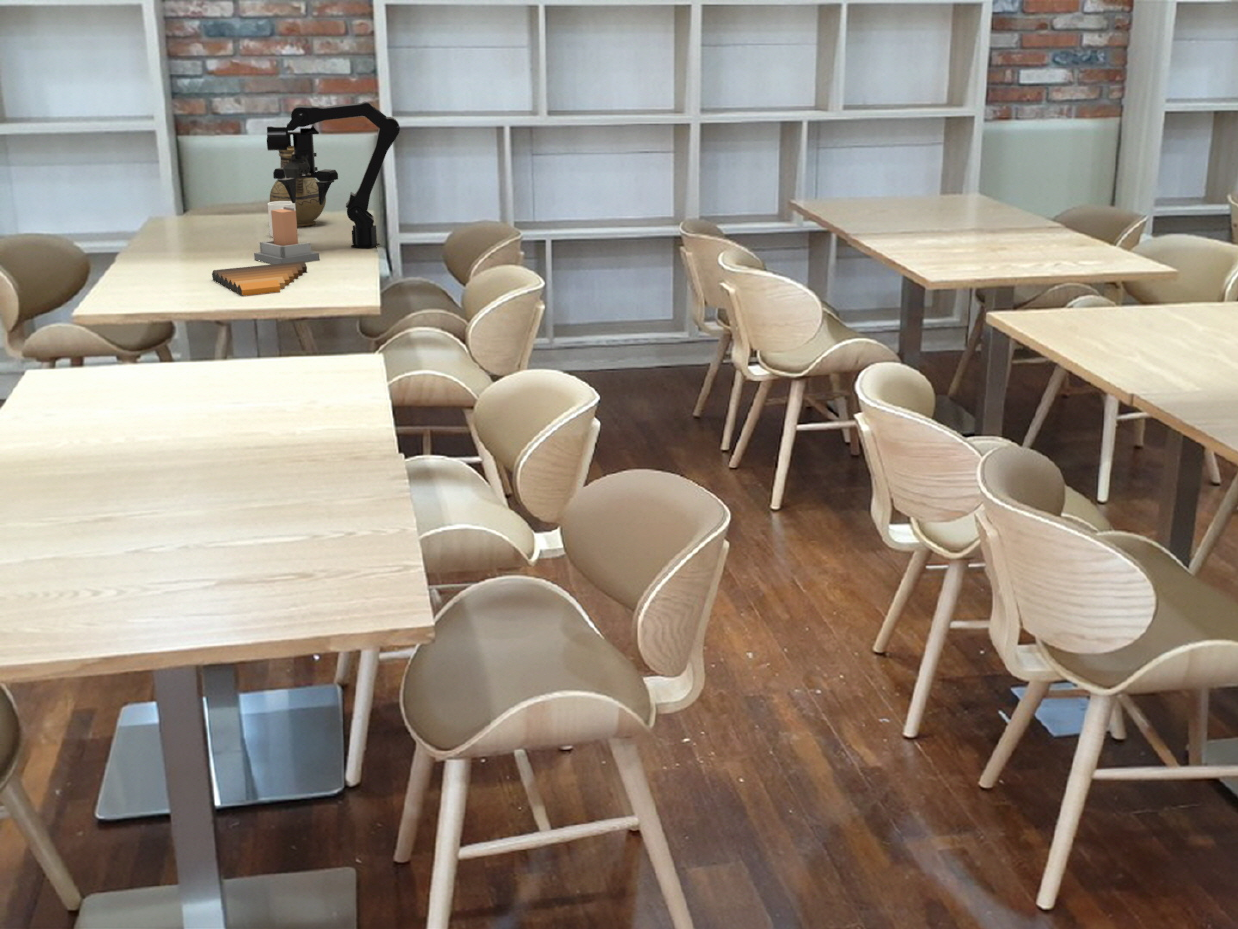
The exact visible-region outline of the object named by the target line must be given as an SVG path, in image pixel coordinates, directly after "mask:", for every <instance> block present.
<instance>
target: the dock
mask: <svg viewBox="0 0 1238 929" xmlns="http://www.w3.org/2000/svg"><path fill="white" fill-rule="evenodd" d="M259 249H260V251H259V252H254V253H253V257H254V261H256V260H260V261H259V262H261V261H263V262H262V263H265V262H267V263H266V264H269V263H270V264H280V263H290V262H300V261H305V263H308V262H309V263H310V262H314V261H315V262H316V261H320V253H319V252H317V251H312V246H311V242H309V241H308V242H302V243H301V242H300V243H298V244H294V245H287V246H280V245H275V244H274V242H273V240H267V241H260V242H259ZM270 264H269V265H270Z"/></svg>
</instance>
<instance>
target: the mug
mask: <svg viewBox="0 0 1238 929" xmlns="http://www.w3.org/2000/svg"><path fill="white" fill-rule="evenodd" d="M283 207H289V208H294V210H295V211H296V209H295V203H292V201H275V202H270V201H269V202H267V211H268V213H267V214H268V224H269V226H268V228H269V233H270V234H269V235H270V237H271V238H273V228H272V215H271V210H278V209H284V208H283Z"/></svg>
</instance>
